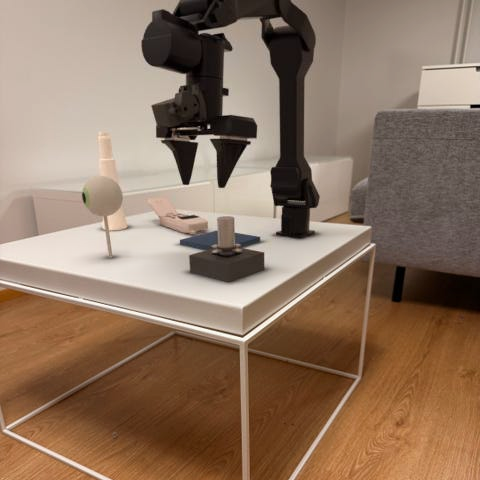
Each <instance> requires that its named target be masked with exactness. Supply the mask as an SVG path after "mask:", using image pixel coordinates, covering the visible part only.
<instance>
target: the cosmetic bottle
mask: <svg viewBox="0 0 480 480" xmlns="http://www.w3.org/2000/svg"><path fill="white" fill-rule="evenodd" d="M98 135H99V136H98V137H97V140H98V142H97V143H98V149H99V150H98V151H99V157H100V158H99V159H98V167H99V176H106V177H109V178H111V179H113V180H114V181H115V182H116V183H117V184H118V185H119V186H120V183H119V182H120V181H119V176H118V169H117V165H116V159H115V158H114V157H113V148H112V140H111V136H109V131H99V132H98ZM107 219H108V227H109V231H121V230H126V229H127V228H128V222H127V217H126V215H125V210H124V205H123V203H122V204H121V207H120V208H119V210H118V211H116V212H115V213H114V214H112V215H109V216H107ZM102 230H104V231H105V225H104V217H103V216H102Z"/></svg>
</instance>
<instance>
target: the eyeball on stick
mask: <svg viewBox="0 0 480 480" xmlns="http://www.w3.org/2000/svg"><path fill="white" fill-rule="evenodd" d="M123 195H124V194H123V191H122V188H121V186H120V184H119V185H118V184H117V183H116V182H115V181H114V180H113V179H111V178H109V177H106V176H100V175H96V176H94V177H91V178H89V179H88V180H87V181H86V182H85V183H84V185H83V187H82V191H81V198H82V199H81V200H82V202H83V204H84V206H85V208H86V209H87V210H88V211H89V212H90V213H91V214H93V215H96V216H99V217H102V218H103V217H104V225H105V230H104V232H105V237H106V246H107V254H108V258H110V259H111V258H113V250H112V243H111V235H110V230H109V227H108V219H107V216H109V215H112V214H114V213H115V212H116V211H118V210H119V208H120V207H121V204H122V205H123V198H124V197H123Z"/></svg>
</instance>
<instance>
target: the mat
mask: <svg viewBox="0 0 480 480" xmlns="http://www.w3.org/2000/svg"><path fill="white" fill-rule="evenodd" d="M260 242H261V236H257V235H251V234H245V233H240V232H235V244H240V245H241V246H240V247H239V248H244V247H247V246H250V245H253V244H256V243H260ZM179 245H181V246H186V247H191V248H195V249H200V250H203V251H206V250H209V249H213V247H212V245H218V229H216V230H214V231H209V232H205V233H202V234H197V235H193V236H189V237H185V238H181V239H179Z"/></svg>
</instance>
